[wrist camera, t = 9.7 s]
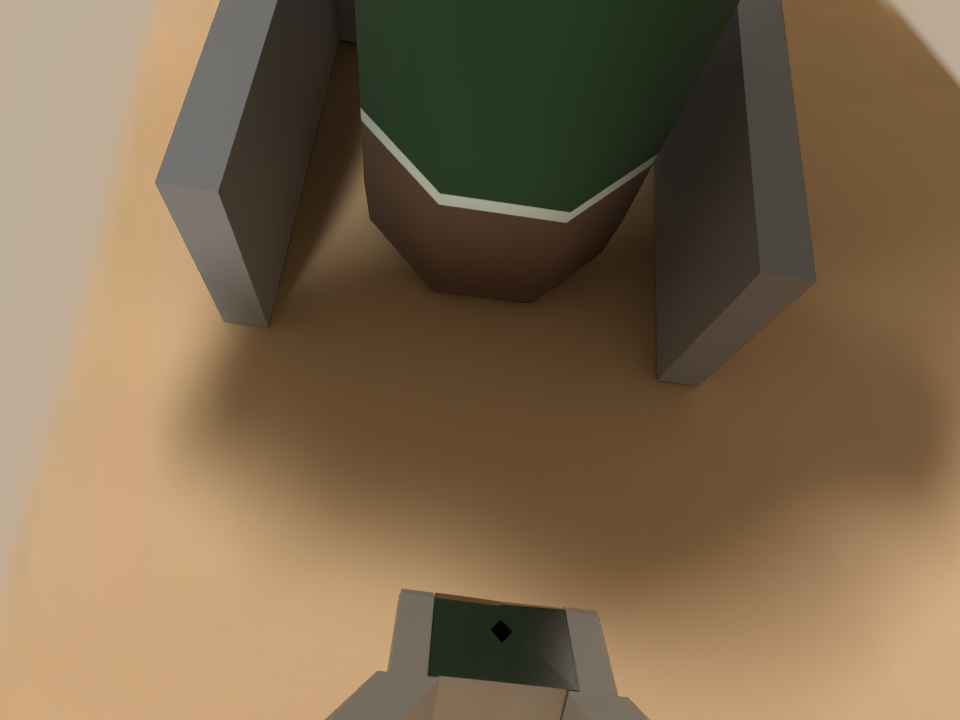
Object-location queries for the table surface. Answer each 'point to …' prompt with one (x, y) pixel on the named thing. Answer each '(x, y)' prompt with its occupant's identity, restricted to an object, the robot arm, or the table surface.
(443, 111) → the beer bottle
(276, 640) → the table surface
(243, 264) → the bottle stall
